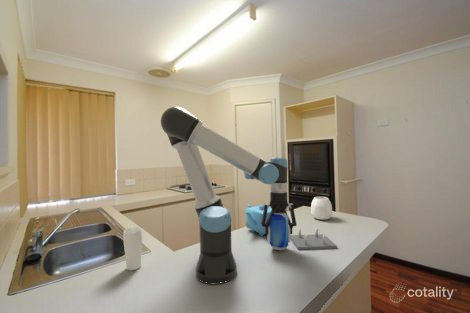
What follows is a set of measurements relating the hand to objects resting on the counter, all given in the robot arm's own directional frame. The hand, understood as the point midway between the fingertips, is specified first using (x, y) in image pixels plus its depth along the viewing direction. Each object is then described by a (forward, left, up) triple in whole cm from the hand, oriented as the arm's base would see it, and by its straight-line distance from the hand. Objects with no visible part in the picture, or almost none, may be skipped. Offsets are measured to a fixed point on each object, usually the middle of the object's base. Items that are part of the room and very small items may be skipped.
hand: (278, 241), depth 99 cm
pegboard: (+17, +6, -4) cm, 19 cm away
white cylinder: (-61, -11, -4) cm, 62 cm away
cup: (+38, +43, -4) cm, 58 cm away
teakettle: (-5, +24, -4) cm, 25 cm away
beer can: (0, 0, -3) cm, 3 cm away
